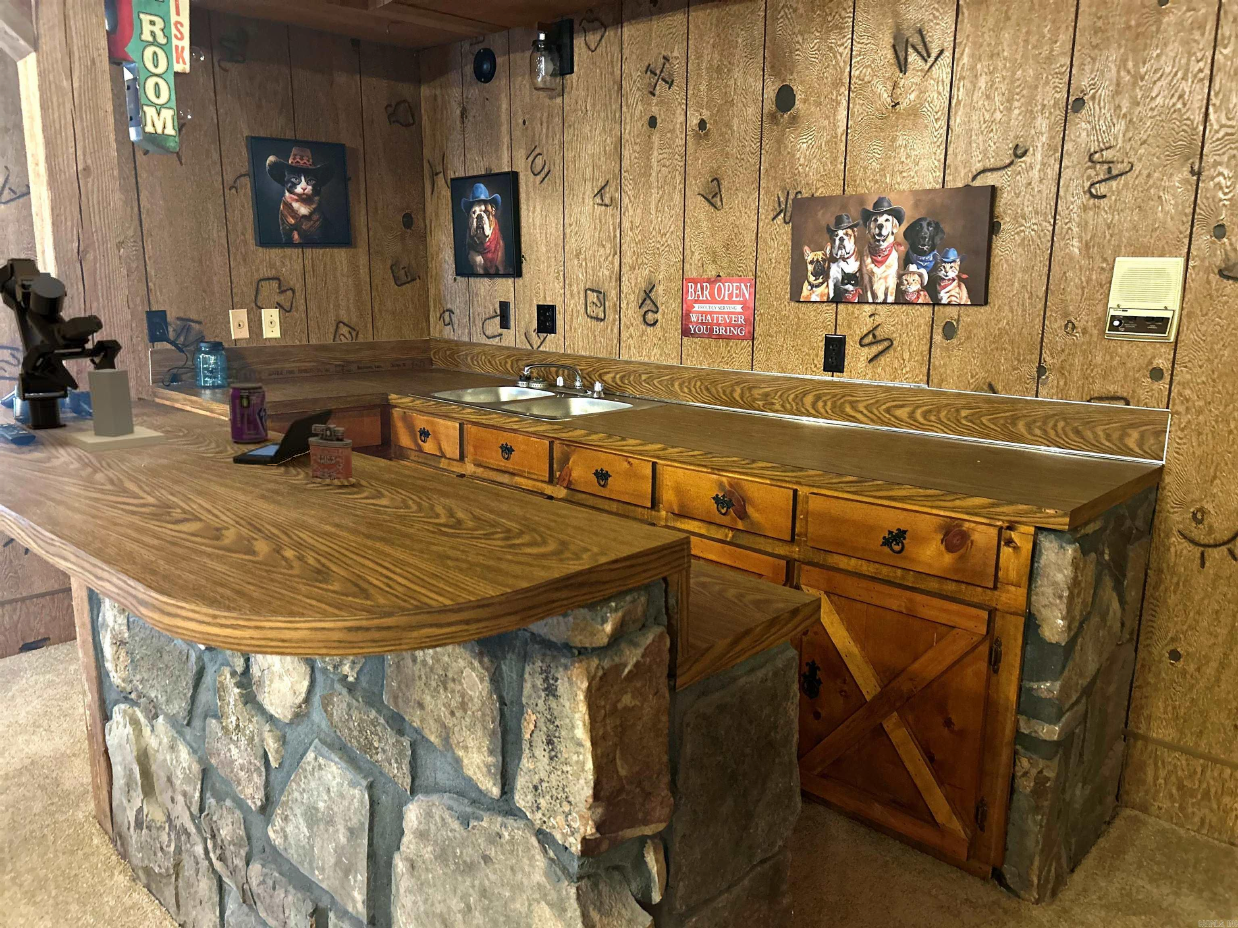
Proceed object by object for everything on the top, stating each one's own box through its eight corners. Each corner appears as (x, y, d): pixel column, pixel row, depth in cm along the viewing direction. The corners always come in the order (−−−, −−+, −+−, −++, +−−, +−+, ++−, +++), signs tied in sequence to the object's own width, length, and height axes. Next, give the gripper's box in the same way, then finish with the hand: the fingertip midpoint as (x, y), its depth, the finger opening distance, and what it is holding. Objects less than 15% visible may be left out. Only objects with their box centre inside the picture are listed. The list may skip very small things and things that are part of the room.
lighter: (358, 482, 153) (355, 425, 151) (346, 486, 150) (343, 428, 148) (318, 478, 155) (315, 422, 153) (306, 482, 152) (303, 425, 150)
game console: (275, 449, 181) (272, 405, 179) (337, 452, 179) (335, 408, 177) (229, 464, 166) (225, 416, 164) (296, 468, 164) (293, 420, 162)
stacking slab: (67, 445, 182) (66, 433, 182) (140, 437, 192) (139, 425, 192) (90, 455, 173) (89, 443, 172) (166, 446, 183) (165, 434, 182)
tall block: (94, 435, 180) (87, 371, 177) (114, 431, 185) (107, 368, 182) (114, 436, 179) (107, 372, 176) (134, 432, 183) (127, 369, 181)
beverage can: (255, 445, 183) (251, 387, 181) (224, 443, 184) (220, 385, 182) (275, 439, 190) (271, 383, 187) (245, 437, 191) (241, 381, 189)
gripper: (25, 303, 171) (72, 363, 170) (111, 300, 188) (154, 356, 187) (2, 342, 176) (48, 401, 174) (88, 336, 193) (130, 390, 191)
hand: (97, 386), depth 181 cm, fingers open, 9 cm apart
